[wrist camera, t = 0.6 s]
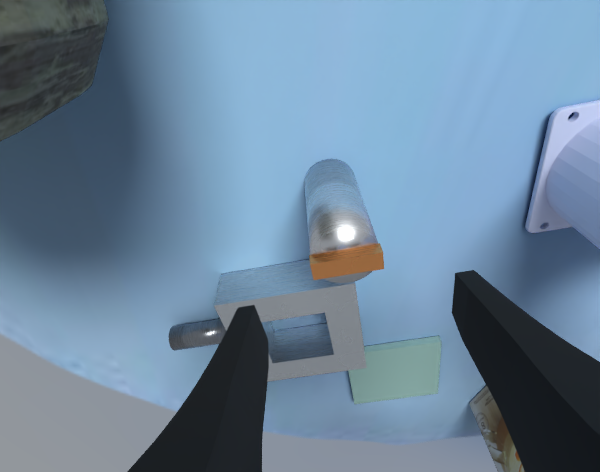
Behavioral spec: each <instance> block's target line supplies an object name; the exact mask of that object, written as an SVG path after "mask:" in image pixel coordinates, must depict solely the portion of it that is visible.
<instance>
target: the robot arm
mask: <svg viewBox="0 0 600 472" xmlns="http://www.w3.org/2000/svg"><path fill="white" fill-rule="evenodd" d="M573 112H574V114H573V116H572V117H571V118H570V119H568V117H569V115H570V114H571V113H573ZM543 223H544V224H543ZM542 224H543V225H542ZM569 227H574V228H575V229H576V230H577V231H578V232H580V233H581V234H582V235H583V236H584V237H585V238H587V239H588V240H589V241H590V242H591V243H593V244H594V245H595V246H596V247H597V248H598V249H600V100H597V101H592V102H586V103H581V104H576V105H571V106H566V107H561V108H558V109H557V110H555V111H554V112H553V113H552V114H551V116H550V119H549V123H548V127H547V132H546V136H545V141H544V145H543V149H542V154H541V158H540V163H539V167H538V172H537V176H536V181H535V185H534V189H533V194H532V198H531V203H530V207H529V212H528V216H527V220H526V225H525V228H526V229H527V230H528V231H529V232H530V233H538V232H544V231H550V230H556V229H563V228H569ZM452 314H453V317H454V319H455V322H456V325H457V327H458V330H459V332H460V335H461V337H462V340H463V342H464V344H465V346H466V348H467V349H468V351H469V353H470V355H471V357H472V359H473V361H474V363H475V365H476V366H477V368H478V370H479V372H480V374H481V376H482V378H483V379H484V381H485V383H486V385H487V387H488V389H489V391H490V393H491V394H492V396H493V398H494V400H495V402H496V404H497V406H498V408H499V410H500V412H501V415H502V417H503V420H504V422H505V424H506V427H507V429H508V431H509V434H510V436H511V439H512V441H513V443H514V446H515V448H516V451H517V453H518V456H519V458H520V461H521V463H522V466H523V468H524V471H525V472H600V362H599V361H597V360H596V359H594V358H592V357H591V356H589V355H587V354H586V353H584V352H582V351H581V350H579V349H578V348H576V347H574V346H573V345H571V344H570V343H568V342H567V341H565V340H564V339H562V338H561V337H559V336H558V335H556V334H555V333H553V332H552V331H551V330H549V329H548V328H546V327H545V326H543V325H542V324H541V323H539V322H538V321H537V320H535V319H534V318H532V317H531V316H530V315H529V314H527V313H526V312H525V311H523V310H522V309H521V308H519V307H518V306H517V305H515V304H514V303H513V302H512V301H510V300H509V299H508V298H507V297H505V296H504V295H503V294H502V293H501V292H499V291H498V290H497V289H496V288H495V287H493V286H492V285H491V284H490V283H489V282H487V281H486V280H485V279H484V278H483V277H481V276H480V275H479V274H478V273H477V272H475V271H474V270H471V271H465V272H459V273H455V283H454V295H453V306H452ZM268 369H269V350H268V338H267V335H266V333H265V330H264V328H263V325H262V323H261V320H260V318H259V315H258V313H257V310H256V308H255V305H250V306H244V307H238V309H237V310H236V312H235V314H234V316H233V318H232V320H231V322H230V325H229V327H228V329H227V331H226V333H225V335H224V337H223V339H222V341H221V342H220V344H219V346H218V348H217V350H216V352H215V353H214V355H213V357H212V359H211V361H210V363H209V364H208V366H207V368H206V369H205V371H204V373H203V374H202V376H201V377H200V379H199V381H198V382H197V384H196V386H195V387H194V389H193V390H192V392H191V393H190V395H189V396H188V398H187V399H186V401H185V402H184V403H183V405H182V406H181V408H180V409H179V410H178V412H177V413H176V414H175V416H174V417H173V418H172V420H171V421H170V422H169V424H168V425H167V426H166V427H165V429H164V430H163V431H162V433H161V434H160V435H159V436H158V438H157V439H156V440H155V441H154V443H152V445H151V446H150V447H149V448H148V449H147V450H146V451H145V453H144V454H143V455H142V456H141V457H140V458H139V459H138V461H137V462H136V463H135V464H134V465H133V466H132V467H131V468H130V469H129V471H128V472H262V433H263V421H264V411H265V401H266V391H267V380H268Z"/></svg>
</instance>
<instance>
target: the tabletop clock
mask: <svg viewBox="0 0 600 472" xmlns="http://www.w3.org/2000/svg"><path fill="white" fill-rule="evenodd" d="M108 20H109V18H108V14H107V11H106V7H105V3H104V0H0V141H2V140H4V139H6V138H8V137H10V136H12V135H14V134H16V133H18V132H20V131H22V130H23V129H25V128H27V127H28V126H30V125H32V124H33V123H35V122H37V121H38V120H40V119H42V118H43V117H45V116H47V115H48V114H50V113H51V112H53V111H55V110H56V109H58V108H60V107H61V106H63V105H65V104H66V103H68V102H70V101H71V100H73V99H75V98H76V97H78V96H80V95H81V94H82V93H83V92H85V91H86V90H87V89H88V88H89V87H90V86H91V85H92V82H93V79H94V75H95V71H96V67H97V63H98V59H99V55H100V51H101V47H102V43H103V39H104V36H105V32H106V28H107V24H108Z"/></svg>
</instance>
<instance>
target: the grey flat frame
mask: <svg viewBox="0 0 600 472" xmlns="http://www.w3.org/2000/svg"><path fill="white" fill-rule="evenodd" d="M250 305H255V308H256V310H257V313H258V315H259V318H260V320H261V323H262V325H263V328H264V330H265V333H266V335H267V338H268V350H269V369H268V380H267V382H268V381H275V380H283V379H290V378H297V377H305V376H312V375H319V374H326V373H334V372H341V371H348V370H355V369H363V368H367V366H366V359H365V352H364V344H363V337H362V330H361V323H360V315H359V308H358V301H357V294H356V286H355V281H354V282H350V283H335V282H331V281H328V280H325V279H318V280H313V275H312V271H311V267H310V259H308V260H302V261H296V262H290V263H284V264H278V265H272V266H266V267H260V268H254V269H248V270H242V271H236V272H230V273H224V274H221V277H220V281H219V286H218V290H217V295H216V299H215V303H214V307H215V309H216V311H217V313H218V315H219V317H220V319H217V320H210V321H204V322H197V323H191V324H184V325H178V326H173V327H172V328H171V329H170V332H169V343H170V346H171V348H172V349H173V350H182V349H188V348H195V347H202V346H208V345H215V344H220V342H221V341H222V339H223V337H224V335H225V333H226V331H227V329H228V327H229V325H230V322H231V320H232V318H233V316H234V314H235V312H236V310H237V309H238V307H244V306H250ZM319 313H325V315H326V320H327V323H323V324H317V325H310V326H303V327H297V328H290V329H284V330H277V331H274V329H273V327H272V324H271V321H274V320H280V319H287V318H293V317H300V316H306V315H313V314H319Z"/></svg>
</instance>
